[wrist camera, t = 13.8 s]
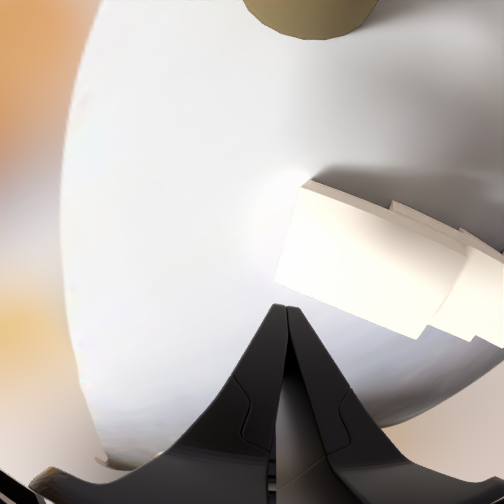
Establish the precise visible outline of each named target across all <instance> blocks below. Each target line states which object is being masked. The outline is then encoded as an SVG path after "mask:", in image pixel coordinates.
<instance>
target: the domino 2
mask: <svg viewBox="0 0 504 504" xmlns="http://www.w3.org/2000/svg"><path fill="white" fill-rule="evenodd" d="M388 210H390V211H393V212H395V213H397V214H400V215H402V216H404V217H406V218H409V219H411V220H413V221H415V222H418V223H420V224H422V225H424V226H426V227H429V228H431V229H433V230H435V231H437V232H439V233H441V234H443V235H446V236H448V237H450V238H452V239H454V240H456V241H458V242H460V243H461V245H462V247H463V249H464V251H465V253H466V255H467V257H468V258H467V260H466V262H465V264H464V266H463V268H462V269H461V271H460V273H459V275H458V277H457V278H456V280H455V282H454V283H453V285H452V287H451V288H450V290H449V292H448V293H447V295H446V297H445V298H444V300H443V301H442V303H441V305H440V306H439V308H438V309H437V311H436V312H435V314H434V315H433V317H432V318H431V320H430V321H429V323H428V324H429V325H431V326H433V327H436V328H438V329H441V330H443V331H445V332H448V333H450V334H452V335H455V336H457V337H459V338H462V339H464V340H467V341H469V342H470V341H471V340H472V338H473V337H474V336H475V335H476V333H477V332H478V331H479V329H480V328H481V327H482V325H483V324H484V323H485V321H486V320H487V319H488V317H489V316H490V314H491V313H492V311H493V310H494V309H495V307H496V306H497V304H498V303H499V301H500V300H501V298H502V297H503V295H504V256H503V255H501V254H499V253H498V252H496V251H494V250H492V249H491V248H489V247H487V246H485V245H484V244H482V243H480V242H478V241H476V240H474V239H473V238H471V237H469V236H467V235H465V234H463V233H461V232H459V231H457V230H456V229H454V228H452V227H450V226H448V225H446V224H444V223H442V222H440V221H437V220H435V219H433V218H431V217H429V216H427V215H425V214H423V213H421V212H419V211H416V210H414V209H412V208H410V207H408V206H405V205H403V204H401V203H399V202H396V201H394V200H392V202H391V204H390V207H389V209H388Z"/></svg>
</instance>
